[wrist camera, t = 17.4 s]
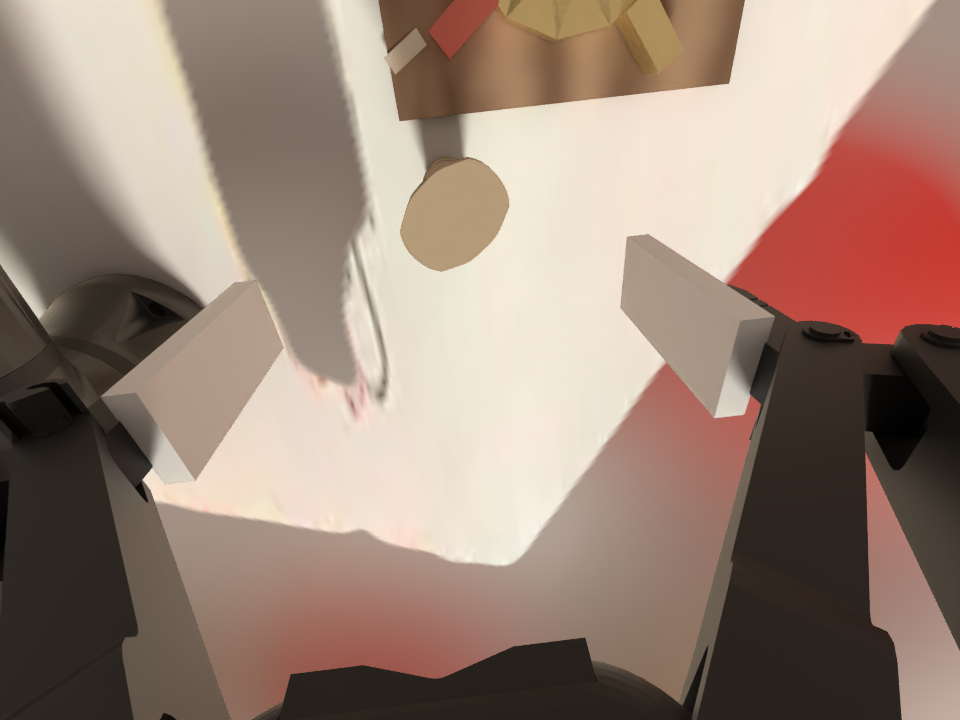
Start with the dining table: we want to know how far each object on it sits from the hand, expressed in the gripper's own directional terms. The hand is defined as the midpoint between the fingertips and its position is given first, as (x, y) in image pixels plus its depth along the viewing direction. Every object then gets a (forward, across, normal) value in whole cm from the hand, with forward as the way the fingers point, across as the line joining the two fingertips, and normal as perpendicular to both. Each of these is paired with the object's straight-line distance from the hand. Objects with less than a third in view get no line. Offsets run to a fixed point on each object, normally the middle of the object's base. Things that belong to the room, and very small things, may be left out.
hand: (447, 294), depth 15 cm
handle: (+25, 0, 0) cm, 25 cm away
